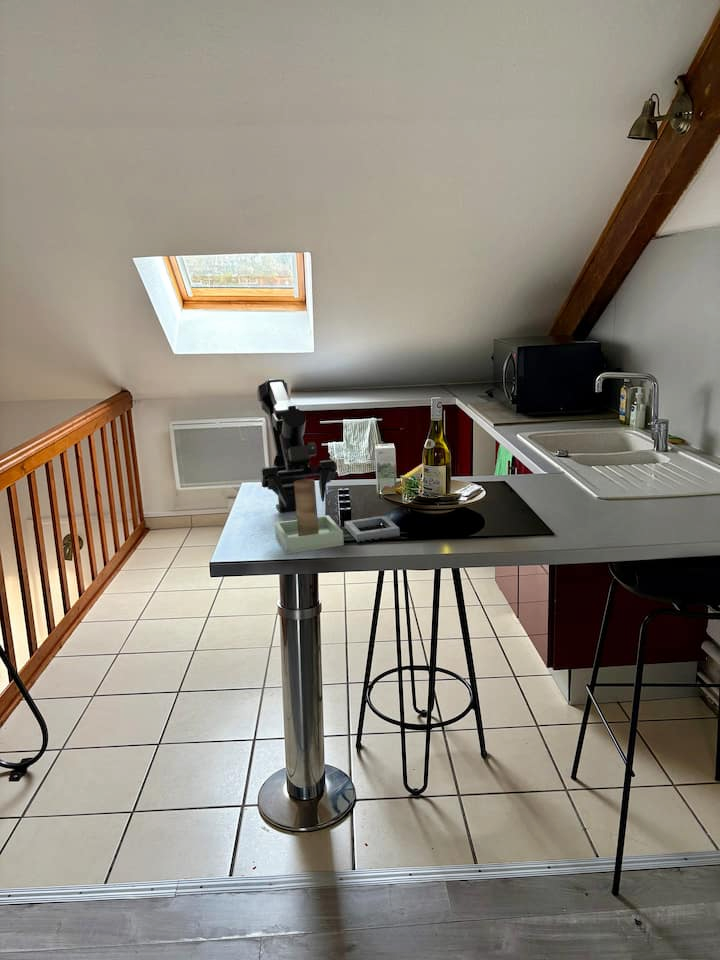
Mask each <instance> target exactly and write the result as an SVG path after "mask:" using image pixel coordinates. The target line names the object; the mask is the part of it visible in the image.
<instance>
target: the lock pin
mask: <svg viewBox="0 0 720 960" xmlns="http://www.w3.org/2000/svg"><path fill="white" fill-rule="evenodd" d="M315 482H316V481H315V479H312V478H304V479H301V480H297V481H295V482H294V488H295V500H296V510H295V511H296V520H297V524H298V536H305V535H312V534H319V531H318V518H317V517H318V510H317V509H318V507H317V493H316V483H315Z"/></svg>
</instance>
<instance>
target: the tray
mask: <svg viewBox="0 0 720 960" xmlns="http://www.w3.org/2000/svg"><path fill="white" fill-rule="evenodd" d="M317 518H318V531H319V534H312V535H305V536H298V524H297V519H293V520H292V519H291V520H283V521H277V522H274V530H275V531H274V532H275V537H276V538H277V540H278V542H279V544H280V545H281V547H282V548H283V550H284V552H285V553H286V555H288V554H295V553H300V552H308V551H315V550H322V549H328V548H333V547H335V548H336V547H339V546H344V545H345V544H344V543H345V542H344V531H343V530H342V528H340V526H339V525H338V524H337V523H336V522H335V521H334V520H333V519H332V518H331V516H330V515H329V514H327V515H320V516H318V515H317Z"/></svg>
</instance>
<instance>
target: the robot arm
mask: <svg viewBox="0 0 720 960" xmlns="http://www.w3.org/2000/svg"><path fill="white" fill-rule="evenodd" d="M256 395H257V401H258V402H259V403H260V406H261V407H260V408H261V410H263V411H264V412H265V413H266V414H267V415H268V418H269V424H270V425H269V426H270V429H271V435H272V436H271V437H272V442H273V446H274V451H275V457H274V459H273V464H272V465H273V466H267V467H265V466H264V467H263V468H262V469H261V470H260V471H261V473H260V481H261V487H262V488H267V490H271V491H273V493H275V495H276V496H277V499H278V503H277V504H275V507H276V509H277V511H278V512H279V513H283V512H285V513H286V512H292V511H296V500H295V488H294V482H295V481H297V480H301V479H305V477H309V476H311V477H312V476H317V475H318V479H319V480H318V485H319V486H318V487H319V493H320V499H321V501H322V502H324V501H325V496H326V487H327V484H328V483H331V481H333V480H334V479H336V474H337V471H338V470H337V469H338V466H337V462H336V461H335V460H333V459H328V460H327V459H326V460H319V463H318V466H314V467H310V465H311V457H316V456H317V454H318V450H317V445H316V442H314V441H313V442H308V443H307V444H304V443H305V442H304V439H303V437H304V435H305V429H306V422H308V421H307V415H306V414H305V413H304V411H302V410H300V408H299V407H298V404H297V403H293V402H291V400H290V397H289V388H288V383H287V382H285V379H284V378H280V377H277V378H268V379H266V380H265V381H264V383H261V384H259V385H258V387H257V390H256Z"/></svg>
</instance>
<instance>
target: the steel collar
mask: <svg viewBox="0 0 720 960" xmlns="http://www.w3.org/2000/svg"><path fill="white" fill-rule="evenodd" d="M381 523H382V524H383V525H384V526H385V527H386V528H384V527H382V528H377V529H371V530H370V529H369V530H363V531H361V530H360V529H358V528H357V527H367V526H374V527H376V526H375V525H379V524H381ZM343 524H344V529H345V528H346V529H347V530H348V531H349V532H350V533H351V535H352V536H353V537H354V538H355V539H356V541H357V542H356V543H361V542H360V541H362V542H366V541H365V540H369V541H372V540H371V539H375V540H380V539H379V538H382V539H388V538H393V537H399V536H400V534H401V533H400V527H399V526H398V525H396V523H394V522H393V521H392V520H391V519H390V518H389V517H387V516H386V515H380V516H379V515H378V516H373V517H366V518H359V519H353V520H346V521H345V520H344V522H343ZM351 535H350V536H351ZM352 536H351V537H352ZM353 537H352V538H353ZM354 538H353V539H354ZM355 539H354V540H355Z"/></svg>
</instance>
